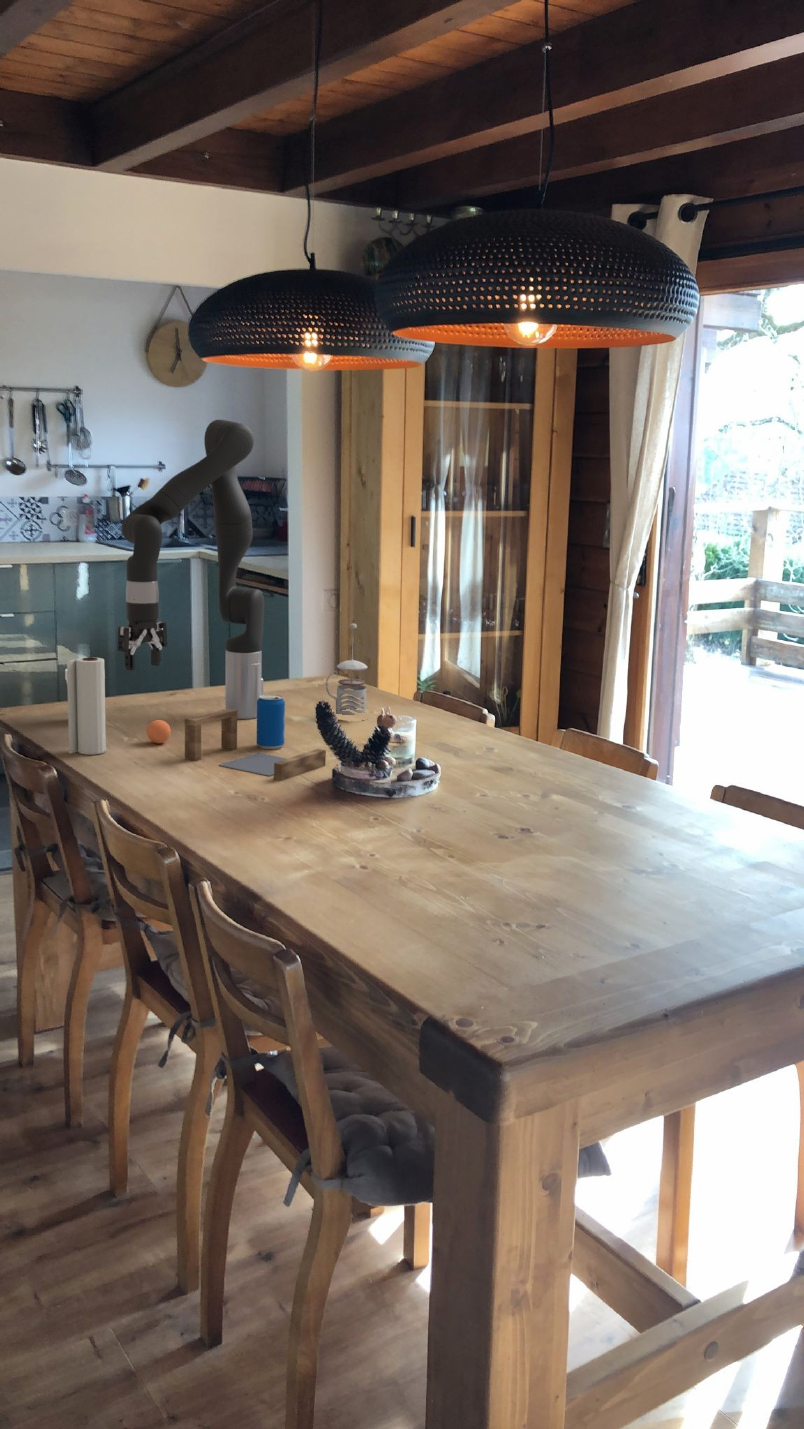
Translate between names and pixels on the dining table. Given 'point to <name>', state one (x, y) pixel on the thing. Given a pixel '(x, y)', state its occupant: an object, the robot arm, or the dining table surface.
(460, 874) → the dining table surface
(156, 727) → the ball
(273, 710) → the beverage can
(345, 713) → the french press
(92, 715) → the paper towel roll
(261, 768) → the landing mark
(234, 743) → the bridge
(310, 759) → the stopper
